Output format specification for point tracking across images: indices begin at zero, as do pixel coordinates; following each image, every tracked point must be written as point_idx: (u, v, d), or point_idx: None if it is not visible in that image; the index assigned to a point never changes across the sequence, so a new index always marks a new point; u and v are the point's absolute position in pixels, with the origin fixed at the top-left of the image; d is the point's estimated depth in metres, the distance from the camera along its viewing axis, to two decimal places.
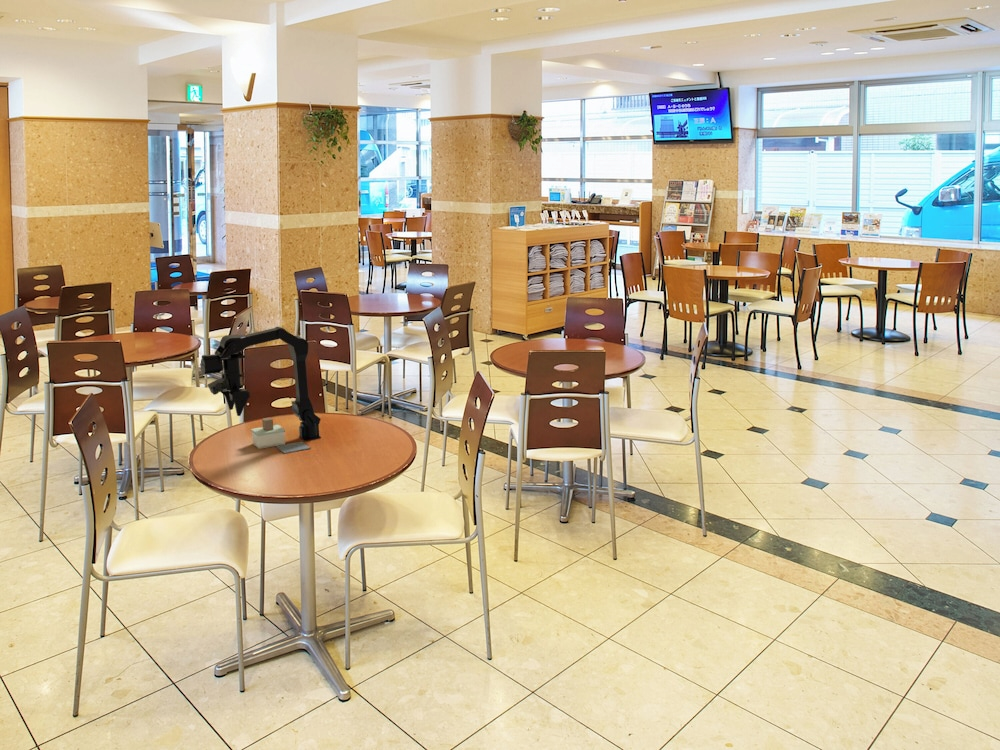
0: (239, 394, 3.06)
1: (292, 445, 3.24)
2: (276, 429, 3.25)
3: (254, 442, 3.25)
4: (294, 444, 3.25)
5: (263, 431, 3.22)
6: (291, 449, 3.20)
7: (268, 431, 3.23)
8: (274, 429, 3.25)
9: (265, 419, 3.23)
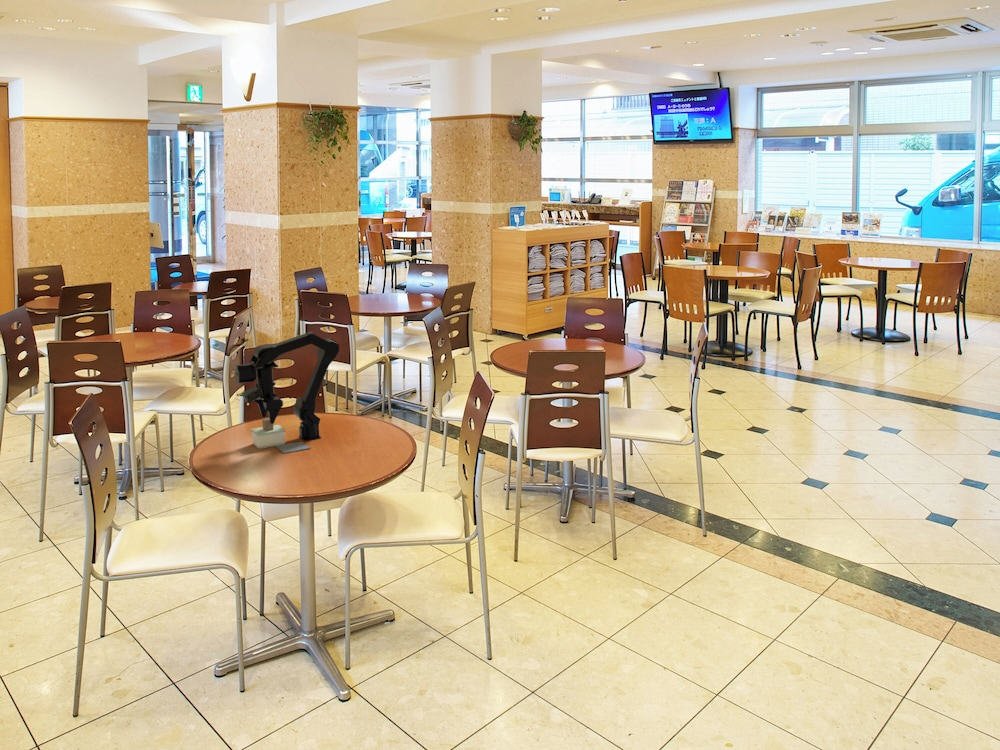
0: (273, 403, 3.14)
1: (292, 445, 3.24)
2: (276, 429, 3.25)
3: (254, 442, 3.25)
4: (294, 444, 3.25)
5: (263, 431, 3.22)
6: (291, 449, 3.20)
7: (268, 431, 3.23)
8: (274, 429, 3.25)
9: (265, 419, 3.23)
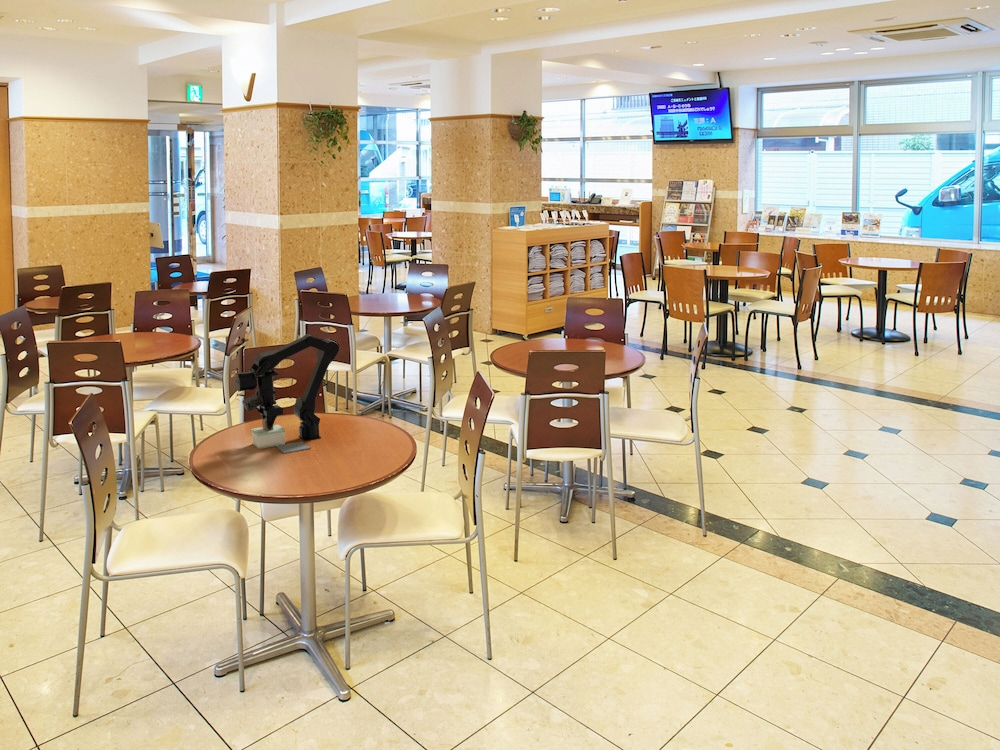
0: (273, 411, 3.15)
1: (292, 445, 3.24)
2: (276, 429, 3.25)
3: (254, 442, 3.25)
4: (294, 444, 3.25)
5: (263, 431, 3.22)
6: (291, 449, 3.20)
7: (268, 431, 3.23)
8: (274, 429, 3.25)
9: (265, 419, 3.23)
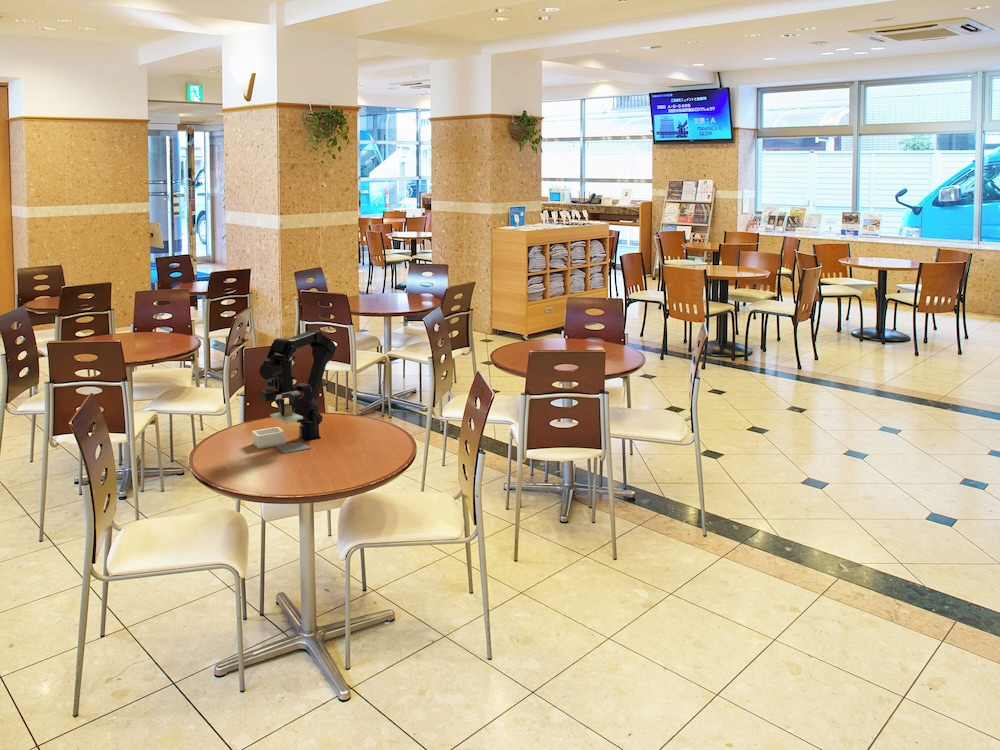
0: (260, 394, 3.12)
1: (292, 445, 3.24)
2: (285, 418, 3.17)
3: (254, 442, 3.25)
4: (294, 444, 3.25)
5: (279, 414, 3.21)
6: (291, 449, 3.20)
7: (279, 416, 3.19)
8: (285, 417, 3.18)
9: (284, 404, 3.19)
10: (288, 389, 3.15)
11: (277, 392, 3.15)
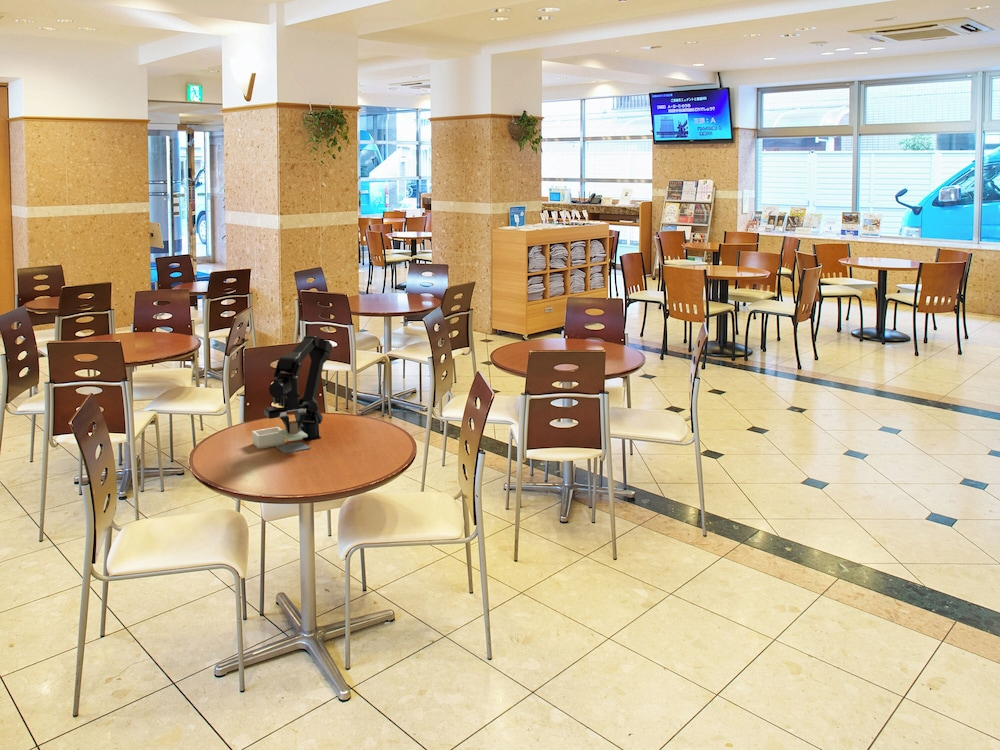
0: (265, 411, 3.14)
1: (292, 445, 3.24)
2: (290, 435, 3.18)
3: (254, 442, 3.25)
4: (294, 444, 3.25)
5: (286, 431, 3.22)
6: (291, 449, 3.20)
7: (285, 433, 3.20)
8: (290, 434, 3.19)
9: (291, 421, 3.20)
10: (293, 407, 3.16)
11: (282, 409, 3.16)
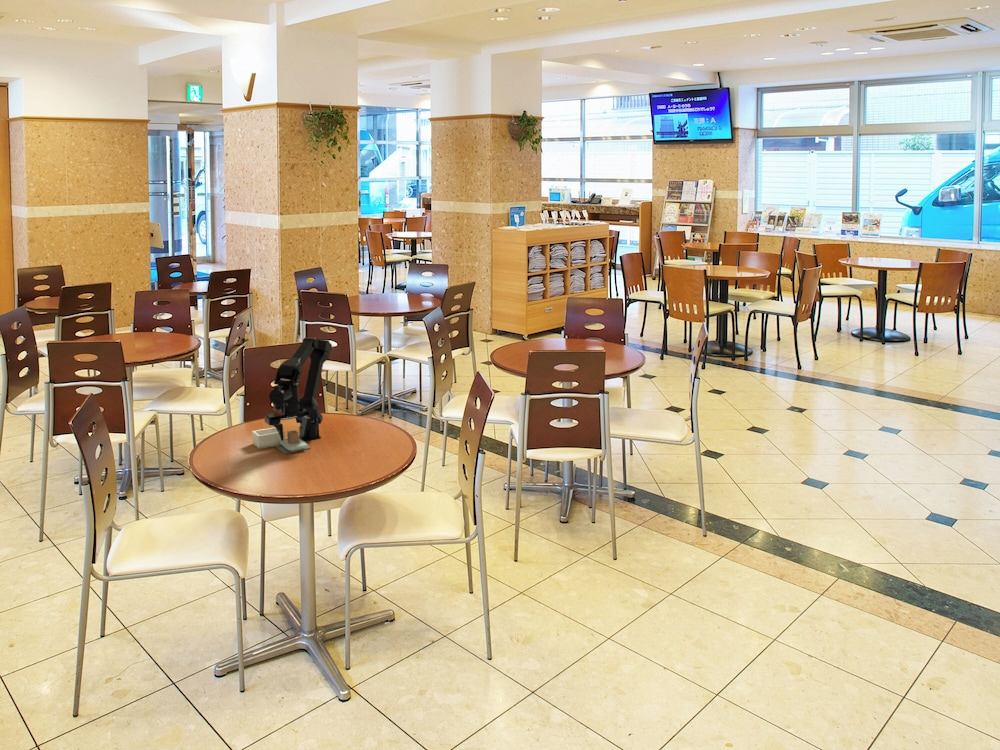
0: (266, 418, 3.15)
1: None
2: (290, 445, 3.19)
3: (254, 442, 3.25)
4: None
5: (286, 441, 3.23)
6: None
7: (285, 443, 3.21)
8: (291, 444, 3.19)
9: (291, 431, 3.21)
10: (293, 414, 3.16)
11: (283, 416, 3.17)
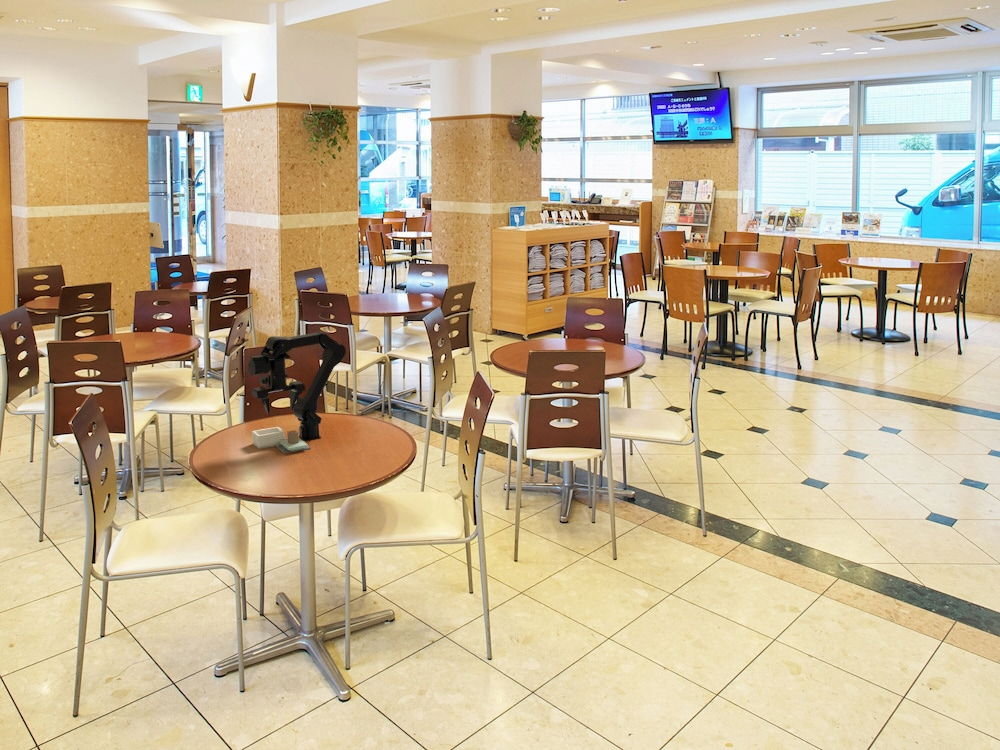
0: (253, 391, 3.16)
1: None
2: (290, 445, 3.19)
3: (254, 442, 3.25)
4: None
5: (286, 441, 3.23)
6: None
7: (285, 443, 3.21)
8: (291, 444, 3.19)
9: (291, 431, 3.21)
10: (281, 387, 3.19)
11: (270, 390, 3.19)
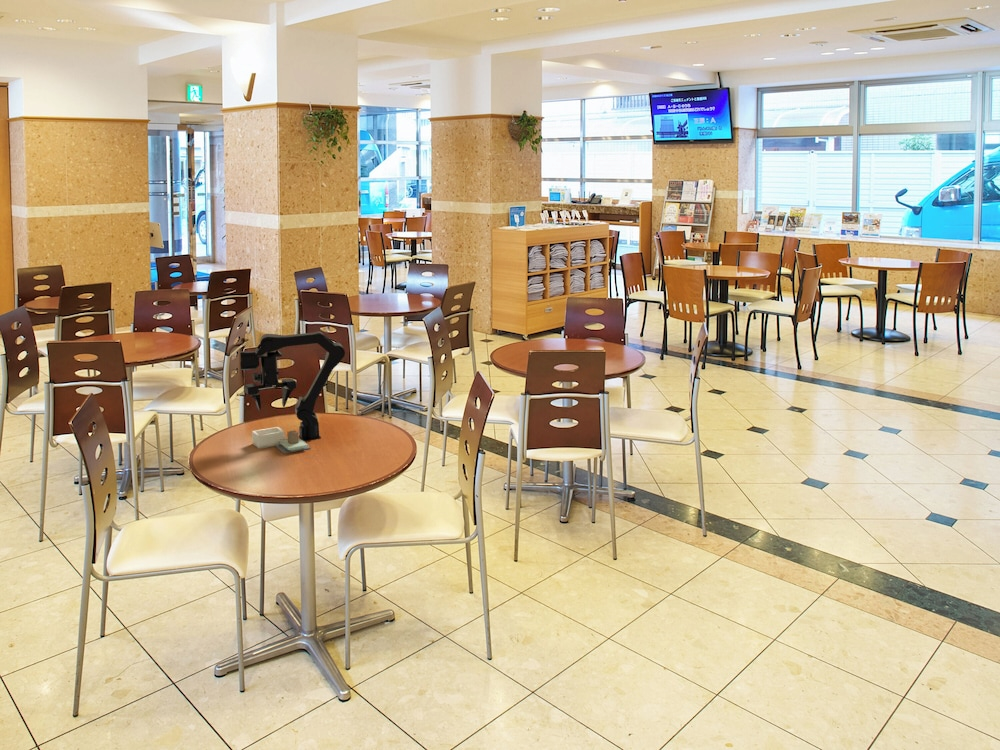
0: (245, 388, 3.21)
1: None
2: (290, 445, 3.19)
3: (254, 442, 3.25)
4: None
5: (286, 441, 3.23)
6: None
7: (285, 443, 3.21)
8: (291, 444, 3.19)
9: (291, 431, 3.21)
10: (272, 384, 3.23)
11: (261, 386, 3.23)
